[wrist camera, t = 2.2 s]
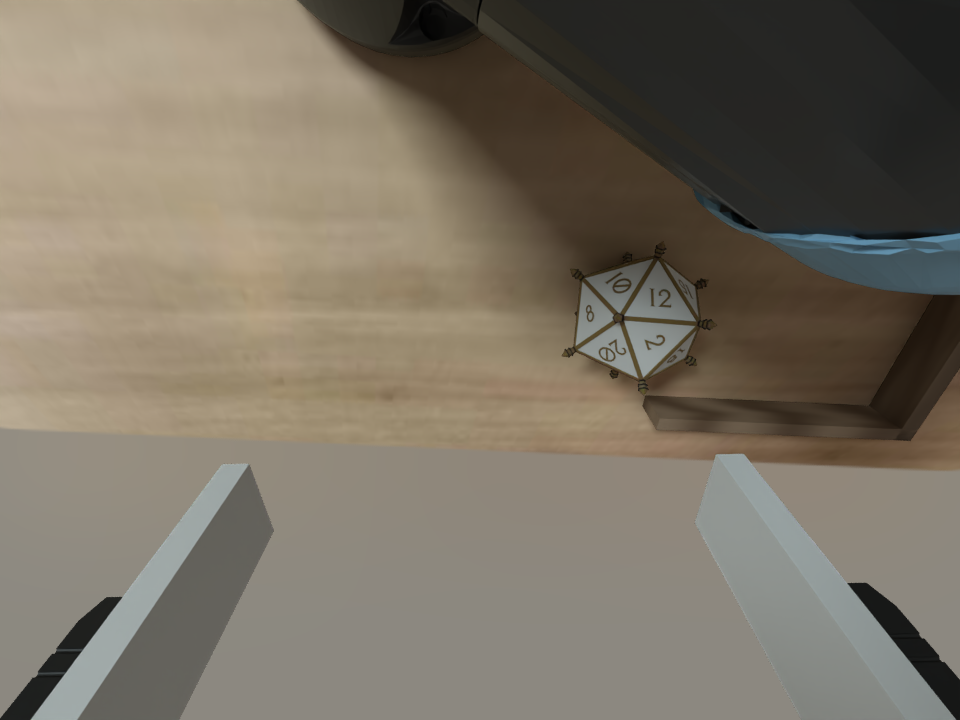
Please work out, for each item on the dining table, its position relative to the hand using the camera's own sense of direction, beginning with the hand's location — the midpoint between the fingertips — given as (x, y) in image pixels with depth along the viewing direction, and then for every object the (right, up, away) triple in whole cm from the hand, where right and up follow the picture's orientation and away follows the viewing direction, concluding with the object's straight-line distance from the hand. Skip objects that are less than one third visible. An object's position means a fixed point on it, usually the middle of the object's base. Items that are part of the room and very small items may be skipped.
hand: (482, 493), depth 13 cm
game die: (+9, +8, +17) cm, 22 cm away
